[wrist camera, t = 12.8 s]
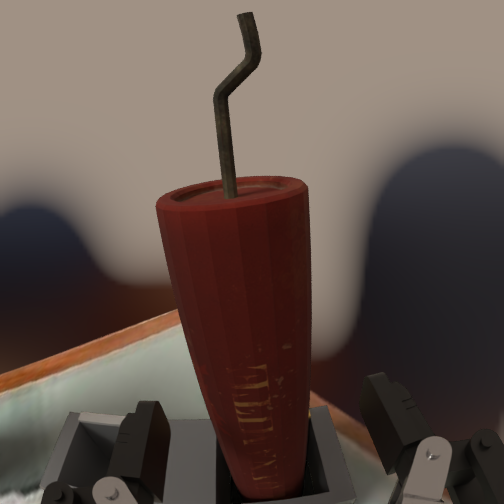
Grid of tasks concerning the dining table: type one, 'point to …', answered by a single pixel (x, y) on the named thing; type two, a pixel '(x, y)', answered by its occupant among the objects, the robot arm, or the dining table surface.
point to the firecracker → (246, 305)
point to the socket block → (194, 460)
